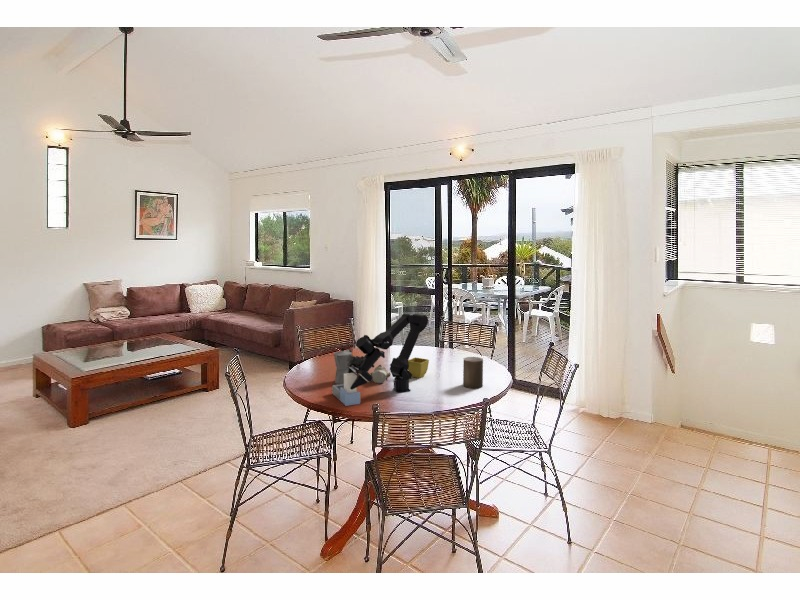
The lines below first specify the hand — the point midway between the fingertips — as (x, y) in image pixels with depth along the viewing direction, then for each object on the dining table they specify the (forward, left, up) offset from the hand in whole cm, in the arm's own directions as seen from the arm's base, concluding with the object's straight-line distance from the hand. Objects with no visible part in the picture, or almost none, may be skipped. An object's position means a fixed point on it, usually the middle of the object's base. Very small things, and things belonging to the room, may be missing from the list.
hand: (347, 386), depth 218 cm
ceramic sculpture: (-27, -24, -8) cm, 37 cm away
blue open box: (-1, -9, -7) cm, 11 cm away
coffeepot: (-9, -30, -8) cm, 33 cm away
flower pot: (-47, -21, -8) cm, 53 cm away
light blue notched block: (-1, 0, -7) cm, 7 cm away
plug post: (-1, 0, -7) cm, 7 cm away
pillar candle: (-64, +5, -8) cm, 65 cm away
